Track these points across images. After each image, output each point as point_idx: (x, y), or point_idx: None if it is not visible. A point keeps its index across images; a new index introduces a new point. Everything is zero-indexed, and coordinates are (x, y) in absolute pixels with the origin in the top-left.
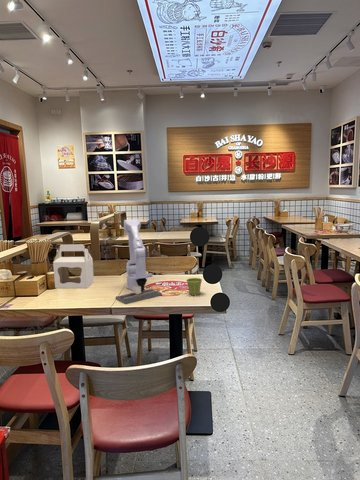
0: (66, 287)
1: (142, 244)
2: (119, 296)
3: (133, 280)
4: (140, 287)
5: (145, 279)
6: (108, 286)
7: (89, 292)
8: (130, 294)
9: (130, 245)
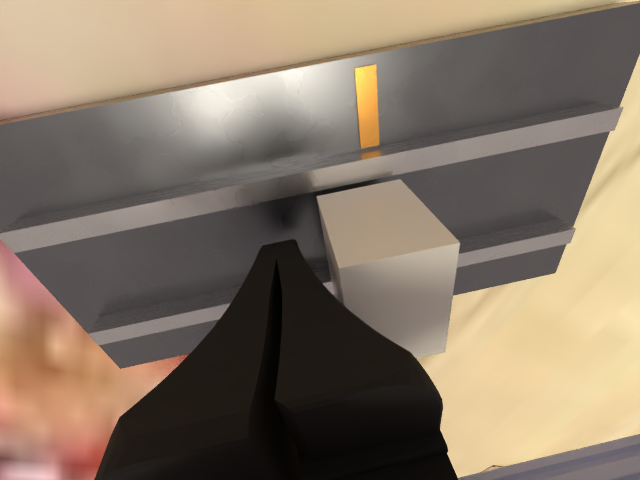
0: None
1: None
2: (563, 238)
3: (604, 444)
4: (347, 252)
5: (161, 475)
6: None
7: (534, 420)
8: None
9: None
